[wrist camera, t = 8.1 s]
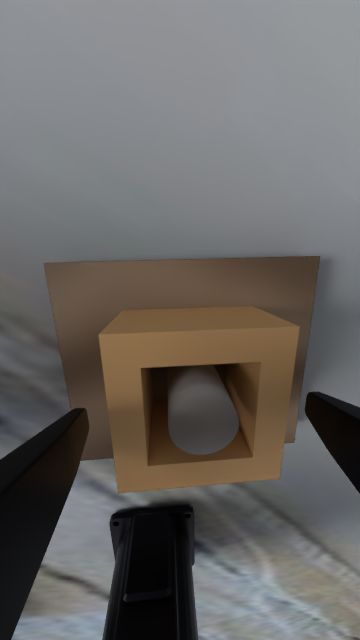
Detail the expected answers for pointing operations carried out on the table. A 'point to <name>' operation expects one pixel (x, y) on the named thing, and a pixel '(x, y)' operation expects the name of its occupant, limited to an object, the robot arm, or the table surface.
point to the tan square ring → (197, 349)
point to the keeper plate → (174, 293)
